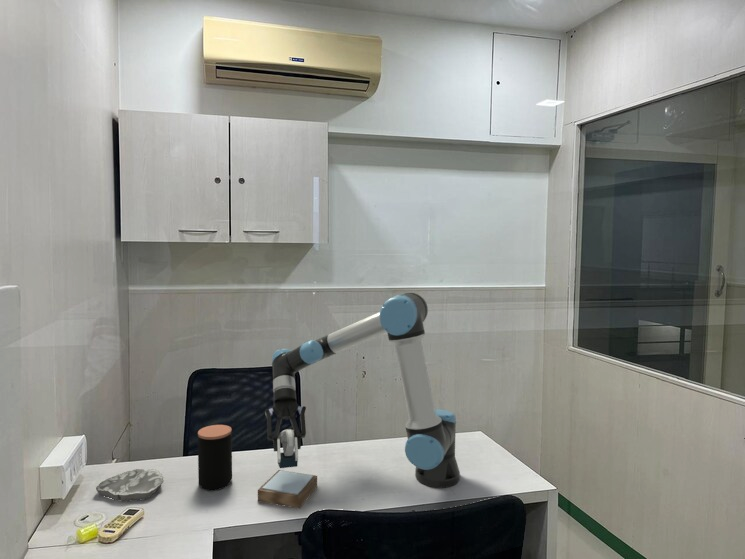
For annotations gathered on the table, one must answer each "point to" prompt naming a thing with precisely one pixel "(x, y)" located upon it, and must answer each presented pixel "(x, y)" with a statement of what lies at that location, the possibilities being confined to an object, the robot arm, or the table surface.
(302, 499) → the walnut plinth
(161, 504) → the table surface
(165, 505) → the table surface
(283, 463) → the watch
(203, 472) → the coffee jar
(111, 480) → the brain slice
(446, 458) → the robot arm
